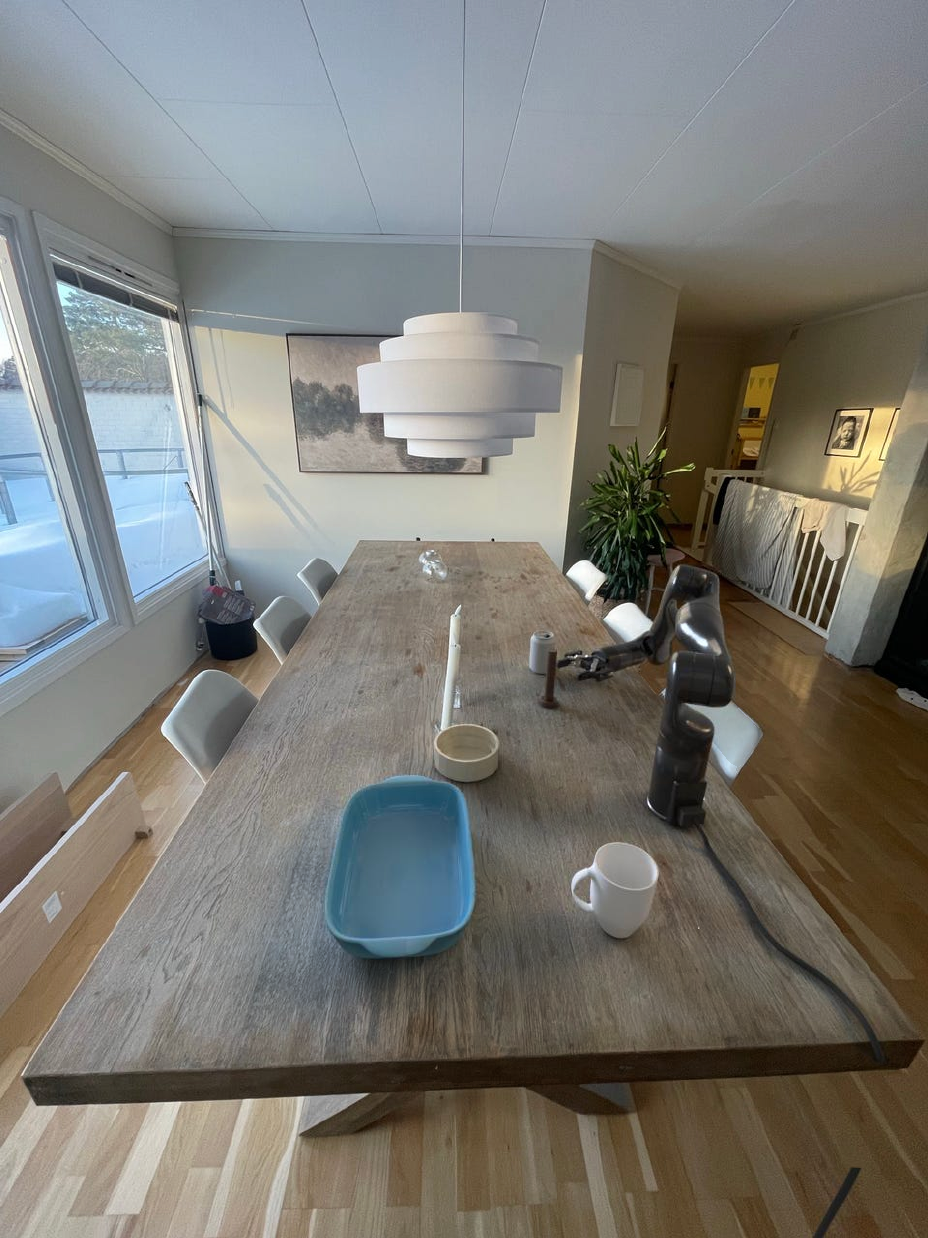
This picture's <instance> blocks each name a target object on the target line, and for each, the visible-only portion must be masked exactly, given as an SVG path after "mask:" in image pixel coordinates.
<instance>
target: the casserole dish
mask: <svg viewBox="0 0 928 1238" xmlns="http://www.w3.org/2000/svg"><path fill="white" fill-rule="evenodd" d="M470 821H471V820H470V813H469V808H468V803H467V799H466V796H465V795H464V793H463V792H462V790H461V789H460V788H459V787H458V786H456V785H454V784H452V783H450V782H446V781H440V780H434V779H431V778H429V777H426V776H424V775H417V774H416V775H415V774H407V775H396V776H391V777H389V778H386V779H385V780H383V781H381V782H378V783H373V784H368V785H366V786H364V787H362V788H360V789H358V790H357V791H355V792H354V793H353V794H352V795H351V796H350V798H349V799H348V801H347V802H346V804H345V807H344V808H343V811H342V815H341V818H340V822H339V826H338V830H337V835H336V840H335V844H334V849H333V855H332V859H331V862H330V863H331V864H330V869H329V874H328V879H327V883H326V889H325V897H324V908H323V909H324V919H325V924H326V927H327V929H328V931H329V932H330V934H331V935H332V936H333V938H335V940H336V942H337V943H338V945H339V946H340V947H341V948H342V949H343V950H344V951H345V952H346V953H347V954H349V955H350V956H353V957H356V958H360V959H398V958H399V959H400V958H416V957H417V958H418V957H425V956H432V955H436V954H439V953H442V952H445V951H447V950H449V949H450V948H452V947H453V946H454V945H455V944H456V943H457V942H458V941H459V940H460V939H461V937H462V936H463V934H464V933H465V930H466V928H467V926H468V923H469V921H470V919H471V917H472V915H473V912H474V908H475V903H476V872H475V871H476V870H475V862H474V852H473V851H474V850H473V843H472V842H473V841H472V831H471V822H470Z"/></svg>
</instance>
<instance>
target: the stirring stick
mask: <svg viewBox="0 0 928 1238" xmlns="http://www.w3.org/2000/svg"><path fill="white" fill-rule="evenodd" d="M557 659H558V649H557V648H555V649H554V648H550V649H548V656H547V670H546V674H545V685H544V695H542V696H541V697H540V700H539V701H540V706H541V707H543V708H546V709H554V708H556V707H557V706H558V698H557V697H556V696H555V686H556V672H557V667H556V664H557V661H558V660H557Z"/></svg>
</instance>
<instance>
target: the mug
mask: <svg viewBox="0 0 928 1238" xmlns="http://www.w3.org/2000/svg"><path fill="white" fill-rule="evenodd" d="M659 874H660V871H659V867H658V864H657V862H656V861H655V859H654V858H653V857H652V856H651V855H650V854H649V853H647V851H645V850H644V849H643V848H640V847H638V846H636V845H633V844H631V843H627V842H618V841H617V842H616V841H615V842H609V843H606V844H603V845H602V846H600V847H599V848H598V849H597V851H596V853H595V855H594V860H593V863H592V865H591V866H590V867H584V868H583V869H581V870H579V871H577V872H576V873H575V874H574V875H573V878H572V880H571V884H570V886H571V887H570V888H571V889H570V890H571V896H572V899H573V902H574V903H575V904H576V906H577V907H578V908H580V909H581V910H583V911H584V912H585V913H590V914H593V915H594V916H595V917H596V919H597V920H598V922H599V924H600V926H601V928H602V930H603V931H604V932H605V933H606V934H608V935H610V936H611V937H613V938H616V939H627V938H629V937H631V936H632V934H634V933H635V932H636V931H637V930H638V929H639V928H640V927H641V926H642V925H643V924H644V923H645V921H646V920H647V918H648V916H649V914H650V911H651V908H652V904H653V901H654V897H655V893H656V888H657V884H658V880H659V876H660V875H659ZM586 878H590V886H589V887H590V888H589V899H590V903H587V902H586V901H583V900H582V899H581V898H580V897H578V896H577V895H576V894H575V892H574V890H575V887H576V885H578V884H579V882H581V881H583V880H585V879H586Z"/></svg>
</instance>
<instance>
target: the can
mask: <svg viewBox="0 0 928 1238" xmlns="http://www.w3.org/2000/svg"><path fill="white" fill-rule="evenodd" d="M556 644H557V639H556V637H555V634H554V633H553V632H552V631H549V630H536V631H534V632H533V633H532V635H531V637H530V646H529V662H528V668H529V669H530V670H531V671H532V672H533V673H535V674H538V675H546V670H547V656H548V649H550V648H554V649H556Z"/></svg>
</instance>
